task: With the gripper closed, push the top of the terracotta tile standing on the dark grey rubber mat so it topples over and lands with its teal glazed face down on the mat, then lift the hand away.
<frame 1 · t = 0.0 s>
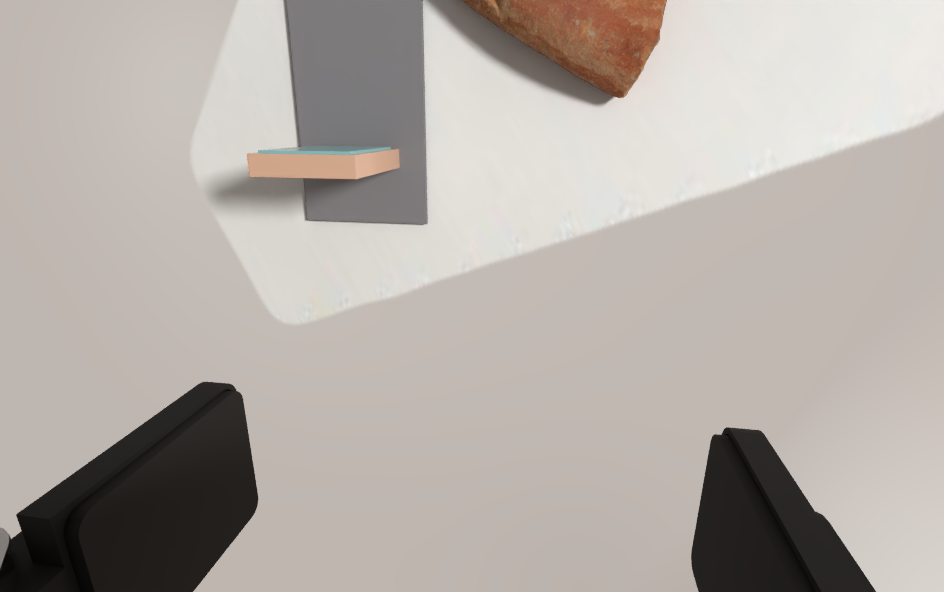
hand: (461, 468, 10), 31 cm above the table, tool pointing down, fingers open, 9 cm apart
mat: (360, 109, 39), on the table
tile: (355, 157, 40), resting on mat
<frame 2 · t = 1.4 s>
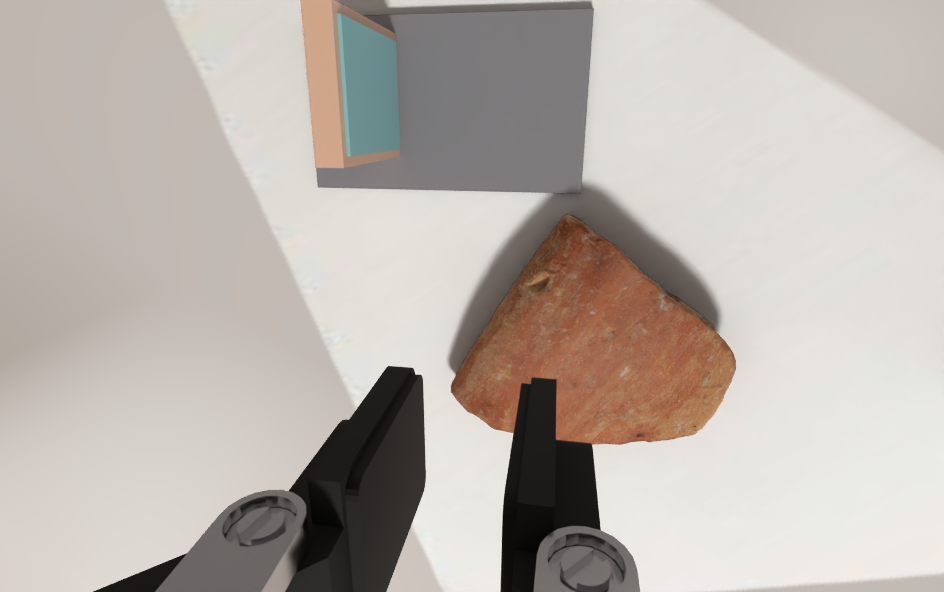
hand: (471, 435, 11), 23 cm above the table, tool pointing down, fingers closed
mat: (444, 106, 31), on the table
tile: (386, 97, 31), resting on mat
ceramic shard: (593, 353, 35), on the table
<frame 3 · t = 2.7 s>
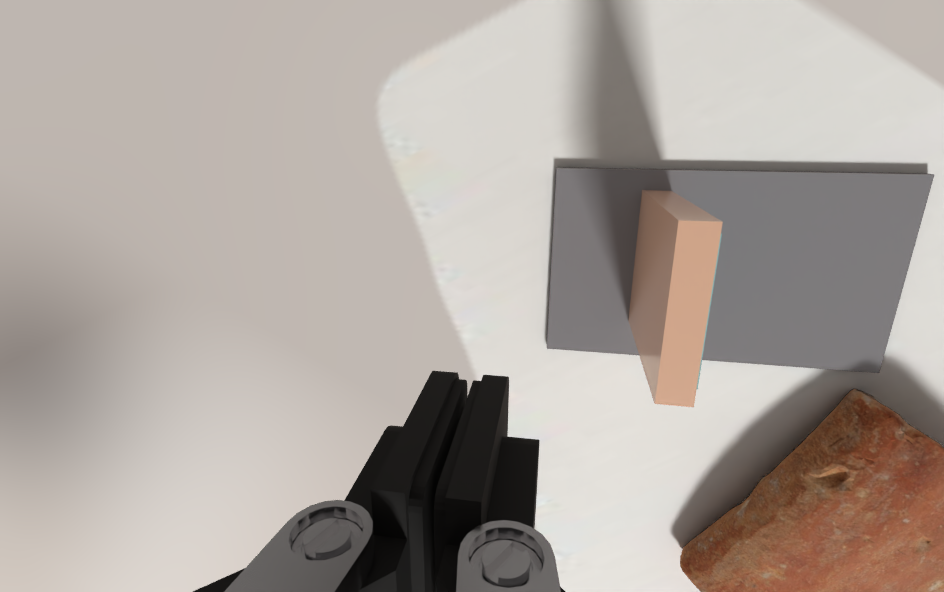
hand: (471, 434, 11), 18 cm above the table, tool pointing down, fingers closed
mat: (716, 269, 27), on the table
tile: (648, 258, 27), resting on mat
ceramic shard: (851, 530, 31), on the table
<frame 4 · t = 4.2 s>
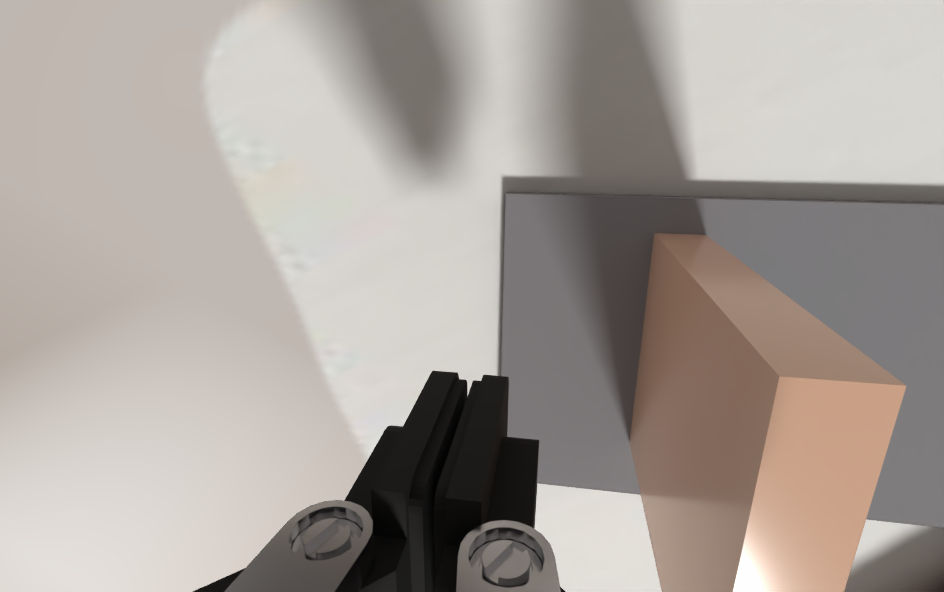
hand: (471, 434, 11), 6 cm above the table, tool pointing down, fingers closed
mat: (779, 364, 16), on the table
tile: (664, 346, 16), resting on mat
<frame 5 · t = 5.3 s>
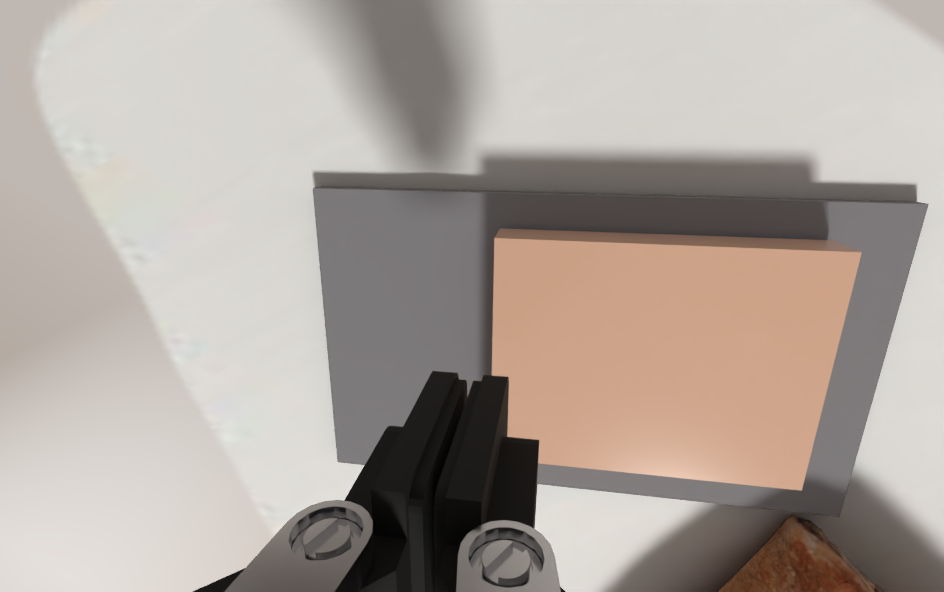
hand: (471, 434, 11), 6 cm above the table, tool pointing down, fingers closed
mat: (580, 350, 17), on the table
tile: (494, 346, 16), point 1 cm above the table, tilted 90°, touching mat
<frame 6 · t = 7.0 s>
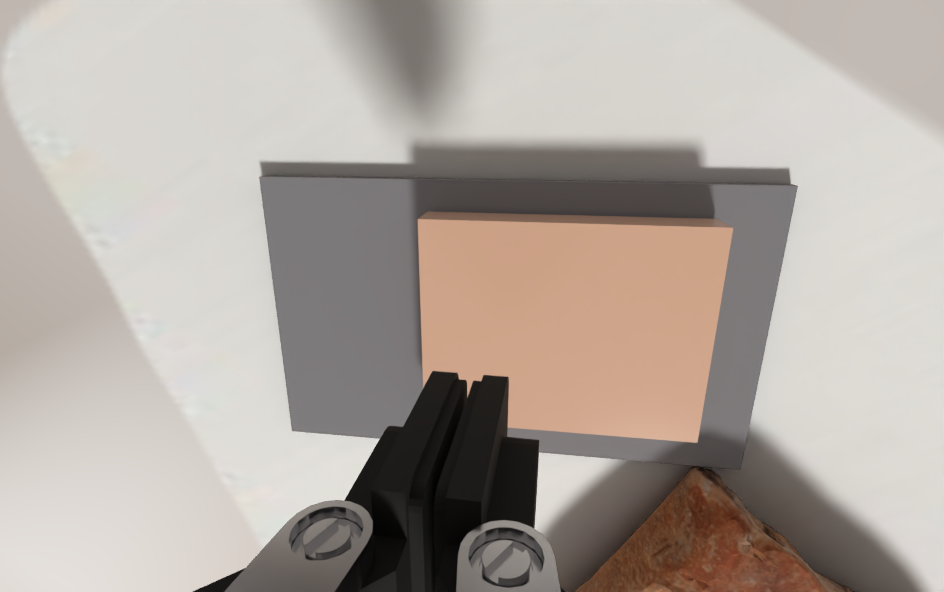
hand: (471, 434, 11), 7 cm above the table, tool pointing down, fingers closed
mat: (507, 322, 18), on the table
tile: (426, 318, 17), point 1 cm above the table, tilted 90°, touching mat
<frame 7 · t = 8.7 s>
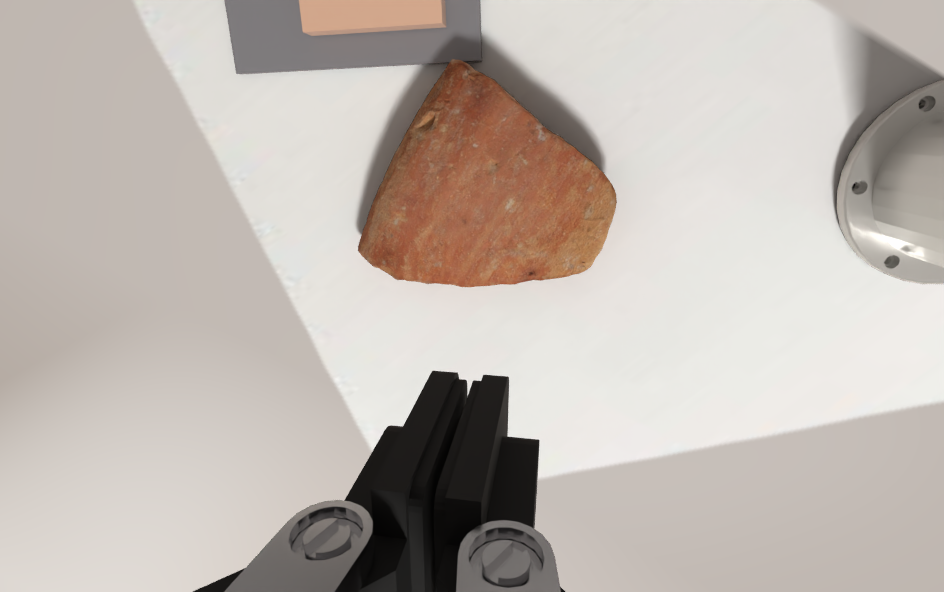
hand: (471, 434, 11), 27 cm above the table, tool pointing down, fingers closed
ceramic shard: (493, 209, 37), on the table
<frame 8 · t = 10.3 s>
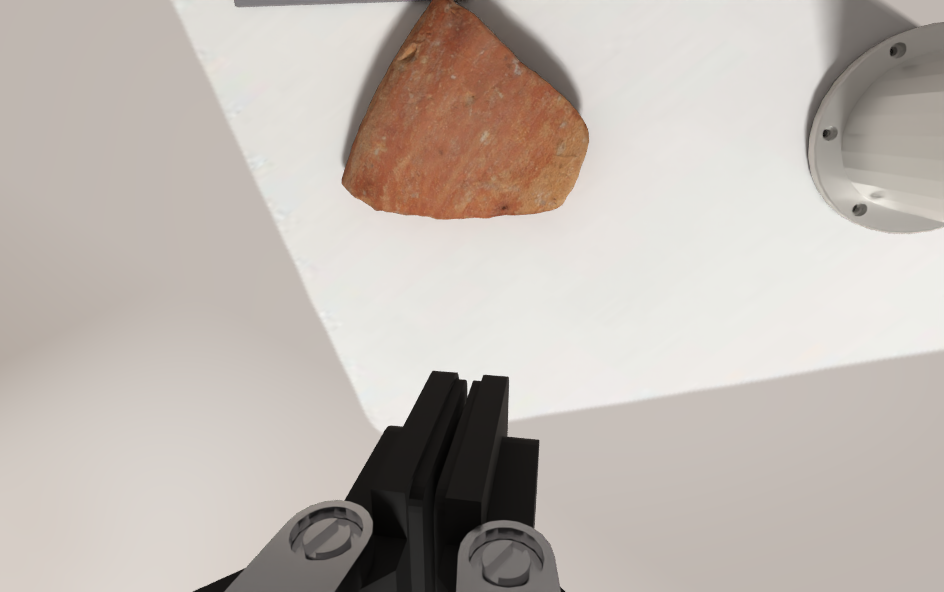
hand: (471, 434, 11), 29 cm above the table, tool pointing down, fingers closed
ceramic shard: (473, 149, 38), on the table
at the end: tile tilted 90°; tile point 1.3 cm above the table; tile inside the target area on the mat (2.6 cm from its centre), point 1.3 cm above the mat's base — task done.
